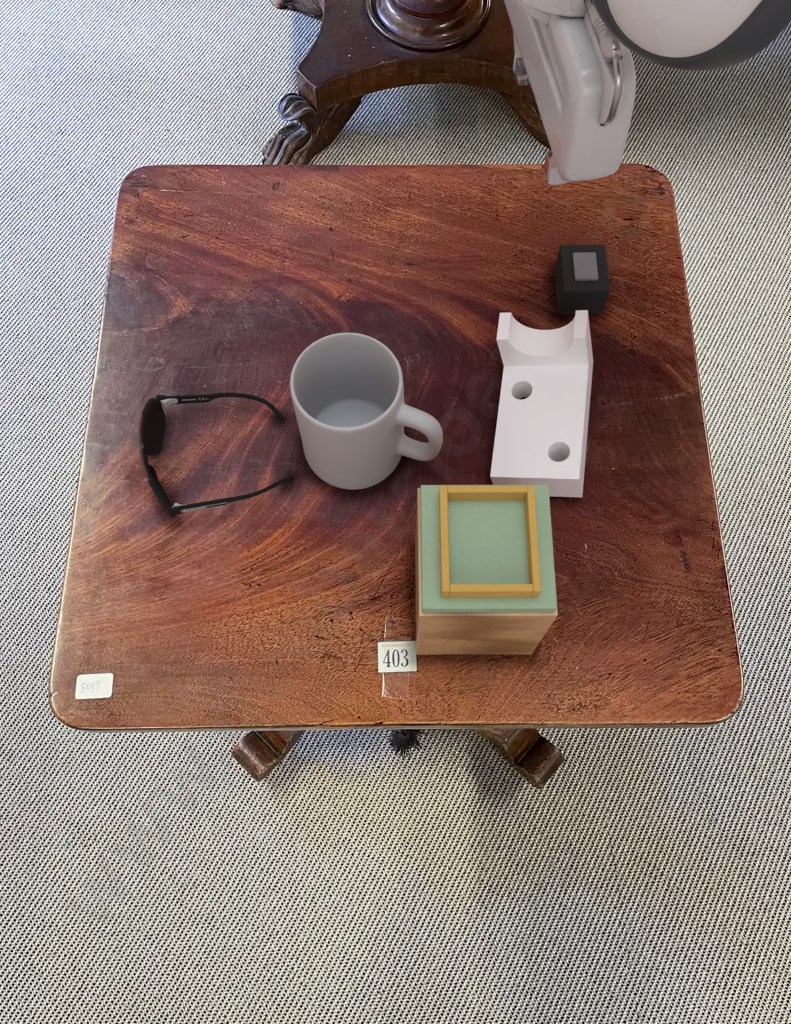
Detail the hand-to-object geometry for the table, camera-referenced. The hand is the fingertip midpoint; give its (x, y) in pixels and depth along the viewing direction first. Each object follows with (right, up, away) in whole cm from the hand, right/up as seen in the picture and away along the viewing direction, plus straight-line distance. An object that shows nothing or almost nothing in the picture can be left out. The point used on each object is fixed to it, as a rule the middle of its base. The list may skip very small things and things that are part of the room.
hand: (541, 126), depth 62 cm
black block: (+6, -8, +17) cm, 19 cm away
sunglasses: (-25, -24, +11) cm, 36 cm away
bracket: (+1, -21, +12) cm, 24 cm away
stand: (-4, -35, +6) cm, 36 cm away
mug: (-13, -23, +11) cm, 28 cm away
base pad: (-5, -30, -5) cm, 31 cm away
